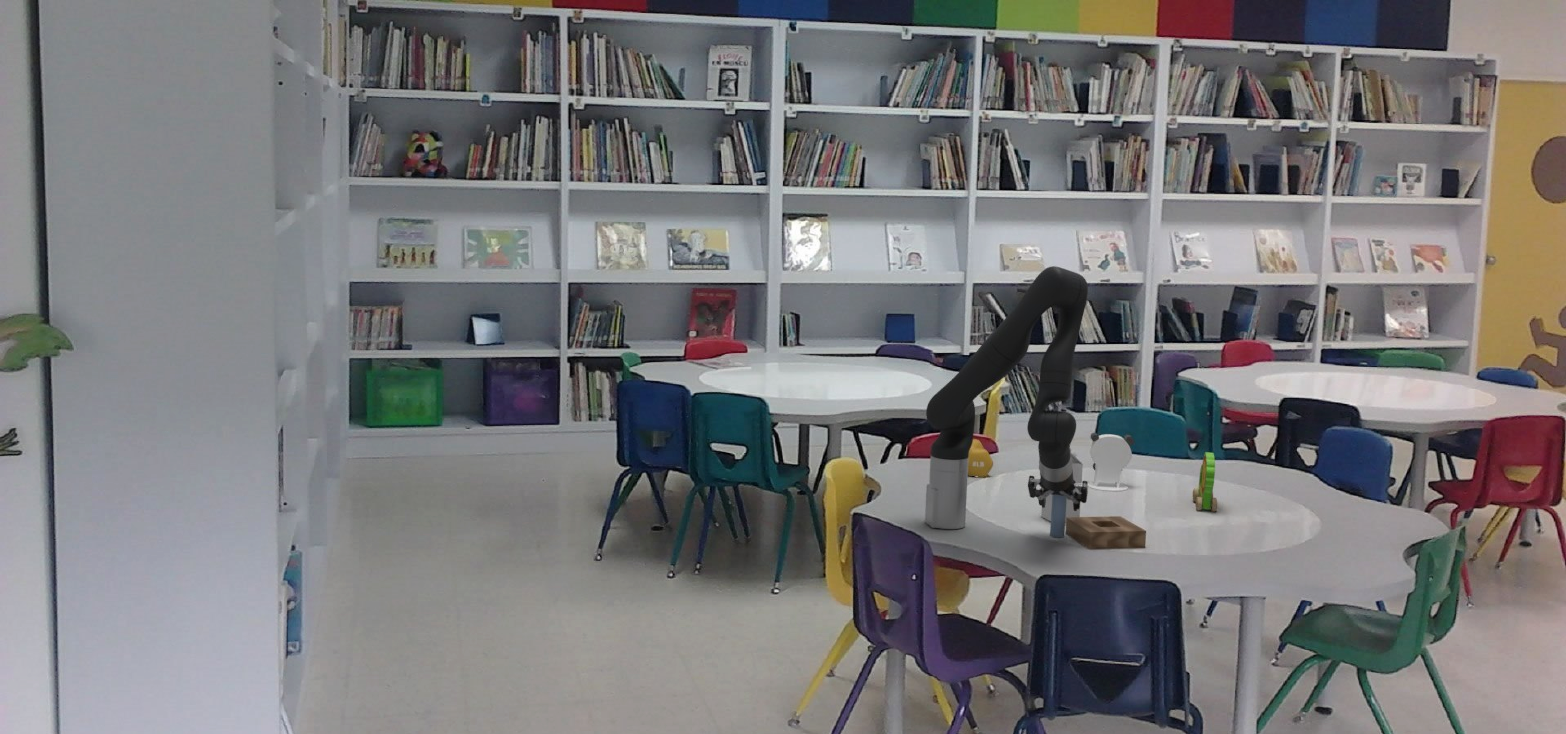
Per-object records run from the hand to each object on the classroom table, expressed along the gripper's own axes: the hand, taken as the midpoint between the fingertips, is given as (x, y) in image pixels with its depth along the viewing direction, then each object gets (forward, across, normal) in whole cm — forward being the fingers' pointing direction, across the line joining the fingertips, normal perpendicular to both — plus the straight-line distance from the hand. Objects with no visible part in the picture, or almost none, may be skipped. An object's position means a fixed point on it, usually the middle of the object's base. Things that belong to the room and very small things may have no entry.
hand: (1059, 506), depth 331 cm
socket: (+4, -11, +6) cm, 13 cm away
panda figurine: (+47, -6, -37) cm, 61 cm away
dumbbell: (+50, +33, -40) cm, 72 cm away
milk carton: (+16, +2, -6) cm, 17 cm away
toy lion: (+38, -32, -28) cm, 57 cm away
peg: (+4, 0, +6) cm, 7 cm away
